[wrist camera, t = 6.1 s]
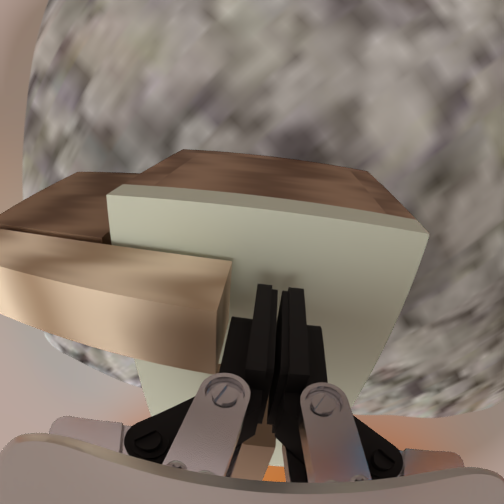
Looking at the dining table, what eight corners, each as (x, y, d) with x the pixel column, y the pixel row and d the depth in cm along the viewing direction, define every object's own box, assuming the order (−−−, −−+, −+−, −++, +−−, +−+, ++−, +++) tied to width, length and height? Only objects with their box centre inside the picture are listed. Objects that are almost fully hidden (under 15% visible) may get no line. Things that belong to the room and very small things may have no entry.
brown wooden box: (367, 171, 20) (429, 234, 11) (309, 380, 30) (311, 467, 21) (76, 148, 21) (-19, 190, 12) (111, 346, 31) (71, 417, 22)
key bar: (232, 261, 12) (216, 311, 9) (228, 321, 13) (215, 374, 10) (-11, 227, 12) (-46, 252, 9) (2, 272, 14) (-28, 300, 11)
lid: (416, 219, 12) (484, 301, 7) (311, 453, 22) (310, 511, 17) (123, 184, 13) (35, 245, 7) (166, 434, 23) (149, 489, 18)
